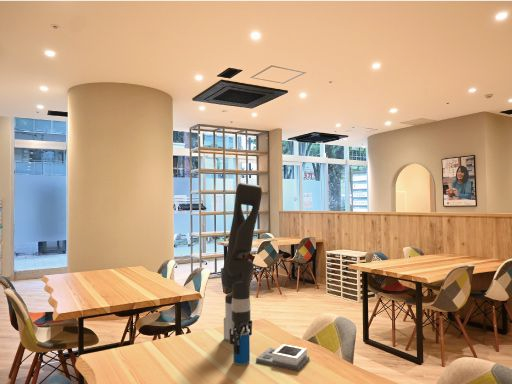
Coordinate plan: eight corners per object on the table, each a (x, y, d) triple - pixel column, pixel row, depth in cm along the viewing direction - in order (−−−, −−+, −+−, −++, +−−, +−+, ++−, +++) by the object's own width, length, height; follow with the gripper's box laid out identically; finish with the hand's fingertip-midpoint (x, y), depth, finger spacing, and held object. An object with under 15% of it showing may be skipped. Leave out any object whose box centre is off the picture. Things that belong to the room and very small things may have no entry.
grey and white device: (256, 362, 149) (256, 350, 149) (269, 351, 160) (269, 340, 160) (298, 371, 141) (297, 359, 141) (309, 359, 151) (309, 348, 151)
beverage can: (231, 360, 151) (231, 330, 151) (246, 358, 153) (246, 328, 154) (236, 367, 145) (236, 335, 145) (252, 364, 147) (251, 333, 148)
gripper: (242, 303, 158) (242, 343, 157) (223, 312, 145) (223, 355, 145) (257, 305, 154) (258, 346, 154) (239, 314, 142) (240, 359, 141)
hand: (241, 350), depth 149 cm, fingers closed on beverage can, 6 cm apart
